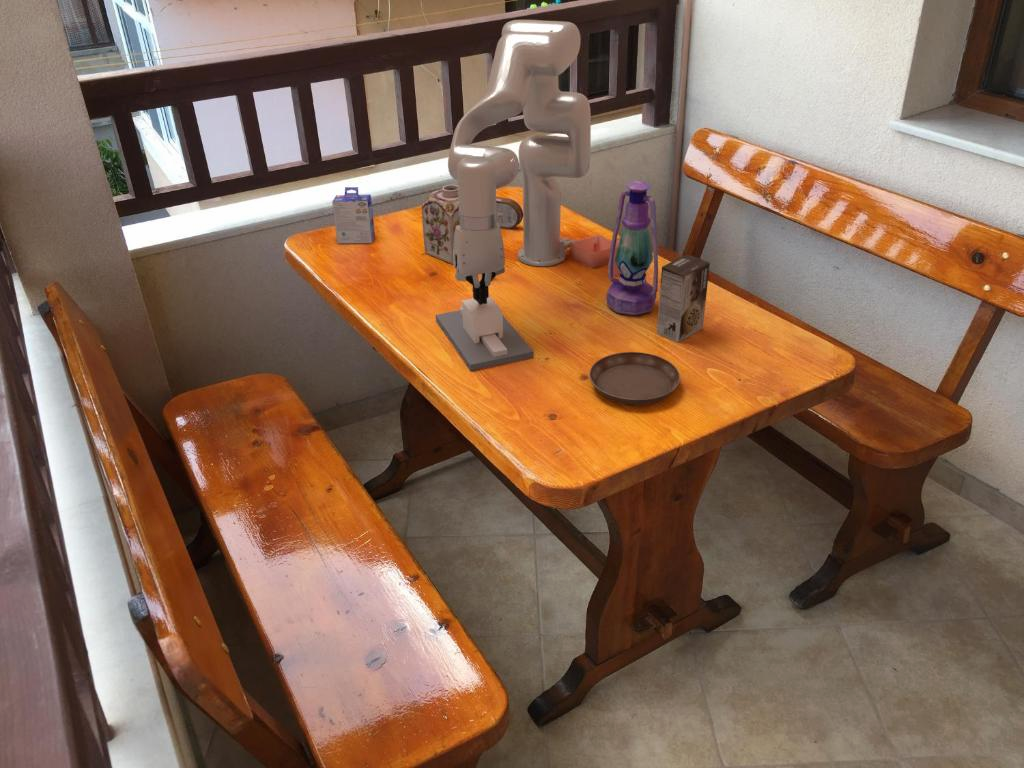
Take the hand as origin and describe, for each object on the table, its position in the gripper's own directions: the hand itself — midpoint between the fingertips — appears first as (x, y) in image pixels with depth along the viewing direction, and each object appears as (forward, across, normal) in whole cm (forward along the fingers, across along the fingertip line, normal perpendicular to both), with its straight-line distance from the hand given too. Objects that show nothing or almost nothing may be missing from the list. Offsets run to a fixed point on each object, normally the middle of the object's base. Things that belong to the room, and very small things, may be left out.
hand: (481, 301), depth 183 cm
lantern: (+9, -37, -1) cm, 38 cm away
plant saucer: (+10, -21, +30) cm, 38 cm away
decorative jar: (+9, -9, -47) cm, 49 cm away
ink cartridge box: (+9, +13, -66) cm, 68 cm away
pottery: (+9, -42, -25) cm, 50 cm away
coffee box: (+9, -41, +14) cm, 44 cm away
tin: (+9, -26, -60) cm, 66 cm away
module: (+8, 0, 0) cm, 8 cm away
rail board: (+9, 0, 0) cm, 9 cm away
